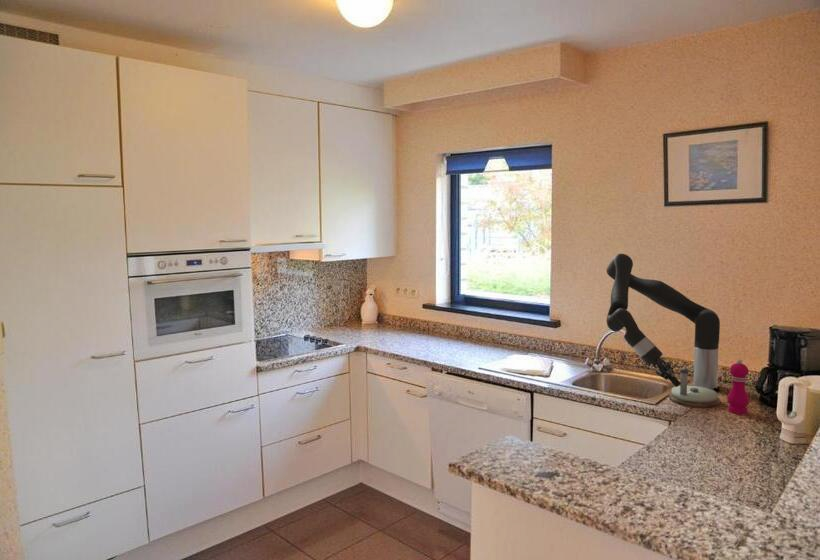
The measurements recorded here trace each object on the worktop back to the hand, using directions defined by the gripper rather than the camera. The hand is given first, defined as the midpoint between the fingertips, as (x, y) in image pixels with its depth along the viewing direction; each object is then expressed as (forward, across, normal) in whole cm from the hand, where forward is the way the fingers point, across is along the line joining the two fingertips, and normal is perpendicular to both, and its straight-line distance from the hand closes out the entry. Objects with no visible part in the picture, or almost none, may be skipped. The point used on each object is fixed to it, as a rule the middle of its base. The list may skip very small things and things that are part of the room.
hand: (678, 385), depth 230 cm
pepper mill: (+20, -1, +10) cm, 22 cm away
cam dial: (+7, -6, -1) cm, 10 cm away
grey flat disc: (+8, -6, -2) cm, 11 cm away
